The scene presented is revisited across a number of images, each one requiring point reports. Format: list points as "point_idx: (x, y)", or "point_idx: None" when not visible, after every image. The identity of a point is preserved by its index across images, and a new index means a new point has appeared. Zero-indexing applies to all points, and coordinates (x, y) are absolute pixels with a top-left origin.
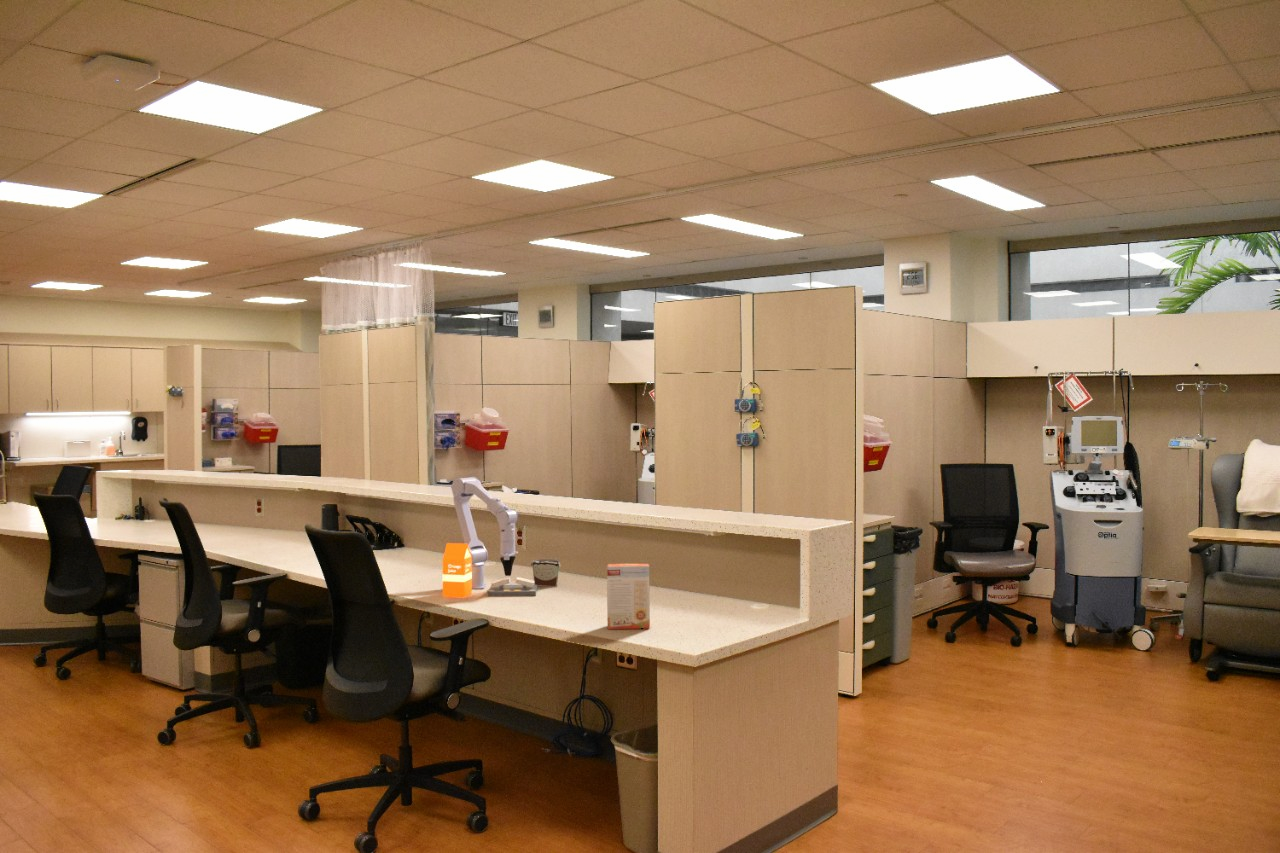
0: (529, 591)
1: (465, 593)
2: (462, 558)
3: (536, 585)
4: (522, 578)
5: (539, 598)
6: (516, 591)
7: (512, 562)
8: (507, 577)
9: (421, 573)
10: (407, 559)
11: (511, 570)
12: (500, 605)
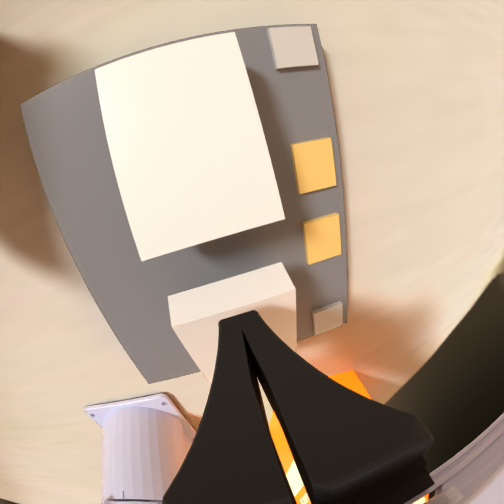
0: (317, 67)
1: (347, 383)
2: (422, 500)
3: (54, 89)
4: (148, 191)
5: (368, 8)
6: (332, 165)
7: (377, 407)
8: (179, 338)
9: (69, 497)
10: (8, 497)
11: (280, 339)
12: (481, 187)
